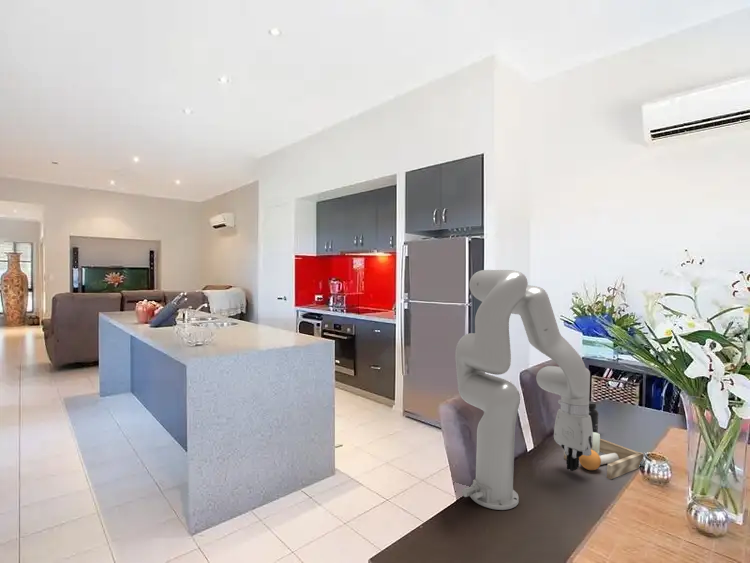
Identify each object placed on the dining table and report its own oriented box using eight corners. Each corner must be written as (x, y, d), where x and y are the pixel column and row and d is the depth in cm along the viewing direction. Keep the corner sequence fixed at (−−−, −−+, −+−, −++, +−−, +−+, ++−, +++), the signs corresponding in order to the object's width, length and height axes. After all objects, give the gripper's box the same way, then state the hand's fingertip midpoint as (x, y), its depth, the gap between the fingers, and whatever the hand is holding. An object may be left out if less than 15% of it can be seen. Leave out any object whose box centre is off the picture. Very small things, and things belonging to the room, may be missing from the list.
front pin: (599, 458, 131) (618, 454, 134) (592, 455, 134) (611, 451, 137) (600, 466, 131) (619, 462, 134) (592, 463, 133) (611, 460, 137)
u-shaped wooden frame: (610, 479, 123) (611, 466, 123) (563, 459, 136) (564, 446, 136) (643, 466, 132) (643, 453, 132) (596, 448, 145) (596, 436, 145)
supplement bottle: (600, 438, 154) (601, 405, 154) (580, 436, 156) (581, 404, 155) (594, 431, 161) (595, 400, 161) (575, 429, 162) (576, 398, 162)
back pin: (596, 462, 134) (597, 435, 134) (588, 459, 136) (589, 433, 136) (600, 460, 135) (601, 434, 135) (592, 457, 138) (594, 431, 138)
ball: (607, 455, 128) (602, 473, 128) (589, 444, 133) (584, 462, 133) (595, 456, 125) (590, 475, 125) (577, 445, 130) (572, 464, 130)
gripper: (544, 402, 130) (542, 461, 130) (591, 417, 117) (588, 483, 117) (560, 399, 134) (558, 456, 134) (606, 413, 121) (604, 477, 121)
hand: (572, 468), depth 126 cm, fingers closed
